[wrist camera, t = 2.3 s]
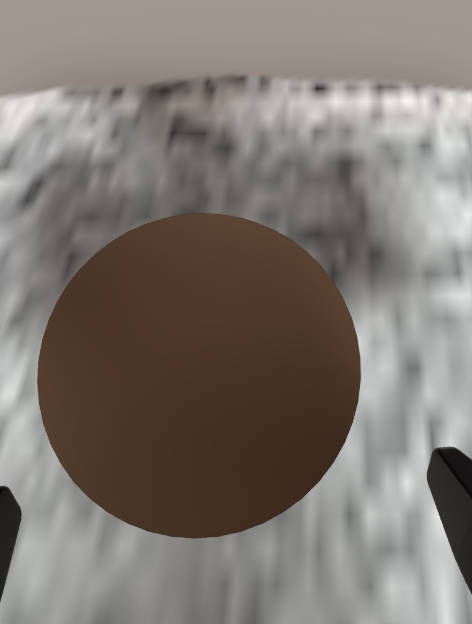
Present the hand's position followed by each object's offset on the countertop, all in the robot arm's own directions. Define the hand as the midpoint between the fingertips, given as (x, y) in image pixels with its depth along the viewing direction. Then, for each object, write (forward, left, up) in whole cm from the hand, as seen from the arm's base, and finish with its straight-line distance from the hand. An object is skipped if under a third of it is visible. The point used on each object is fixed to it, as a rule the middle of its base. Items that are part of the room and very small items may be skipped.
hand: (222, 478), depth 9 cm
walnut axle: (+2, +1, -9) cm, 10 cm away
